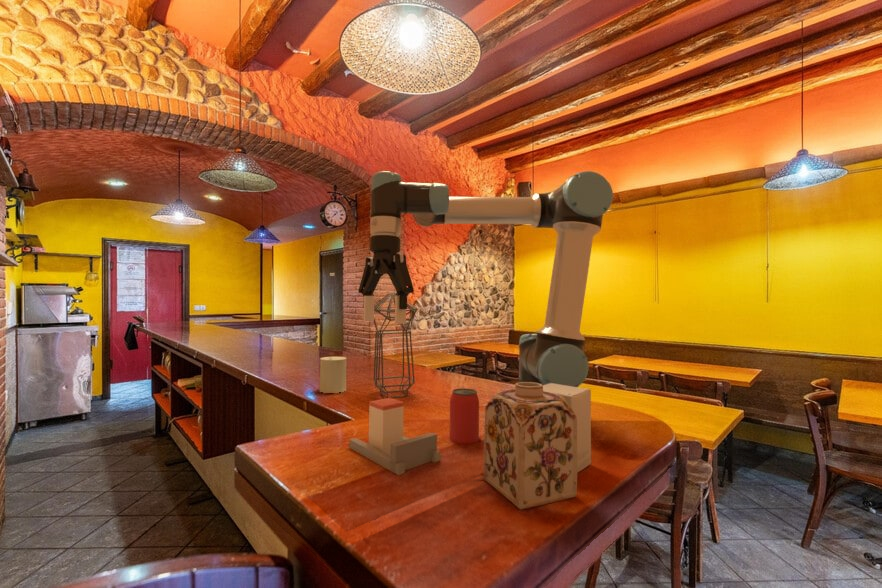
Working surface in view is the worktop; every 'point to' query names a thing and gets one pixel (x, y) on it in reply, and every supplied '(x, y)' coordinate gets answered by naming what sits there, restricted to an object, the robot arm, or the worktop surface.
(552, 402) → the decorative jar
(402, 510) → the worktop surface
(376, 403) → the block
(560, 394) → the supplement box
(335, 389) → the can
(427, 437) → the grey tray
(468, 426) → the beer can
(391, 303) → the geometric lantern
